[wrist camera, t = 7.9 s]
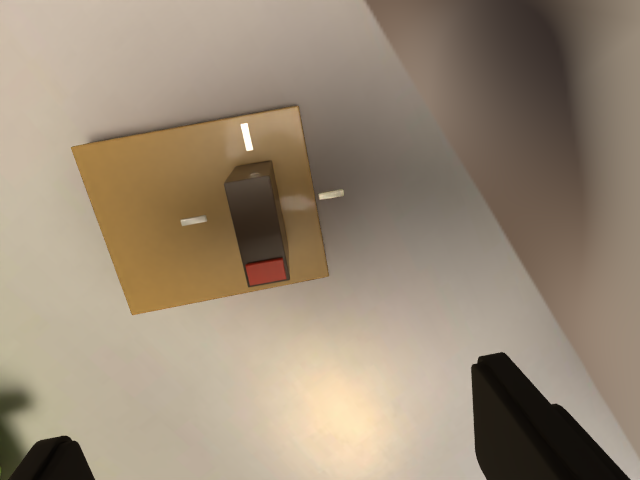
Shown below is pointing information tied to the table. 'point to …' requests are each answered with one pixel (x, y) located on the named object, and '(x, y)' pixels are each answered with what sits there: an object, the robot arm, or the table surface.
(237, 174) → the lock knob
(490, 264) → the table surface
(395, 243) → the table surface
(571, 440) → the robot arm
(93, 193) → the plate
